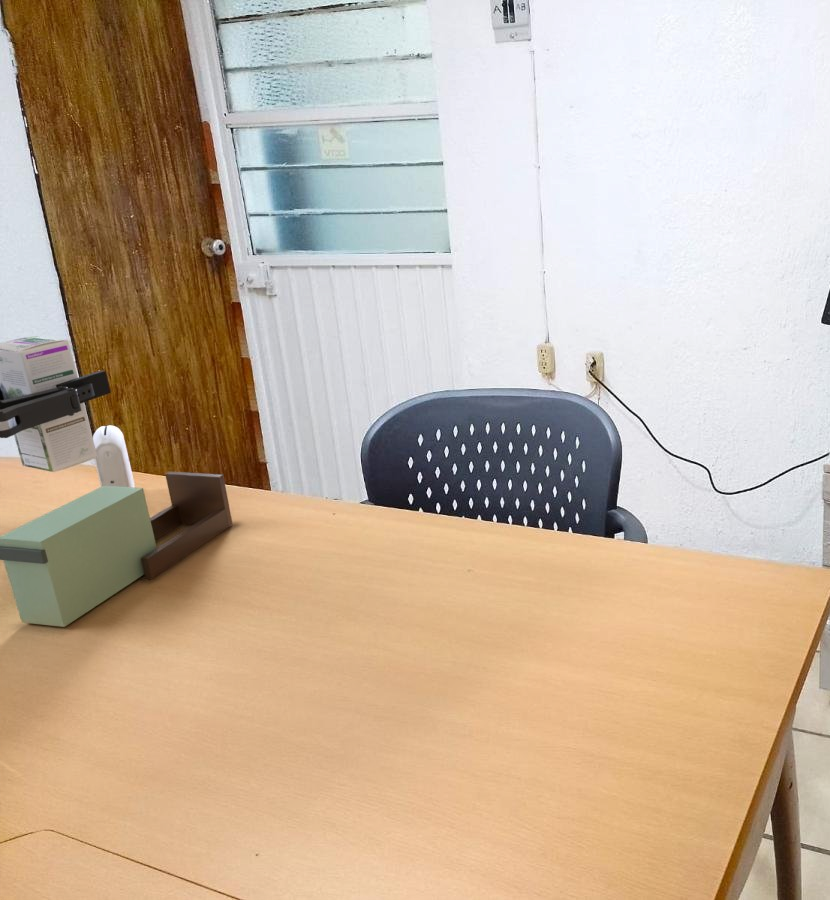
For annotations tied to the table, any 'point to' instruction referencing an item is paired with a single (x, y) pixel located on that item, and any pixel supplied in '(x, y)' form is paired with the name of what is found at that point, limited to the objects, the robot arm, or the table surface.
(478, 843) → the table surface
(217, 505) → the rack
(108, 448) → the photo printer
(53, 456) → the syrup box
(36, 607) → the container
